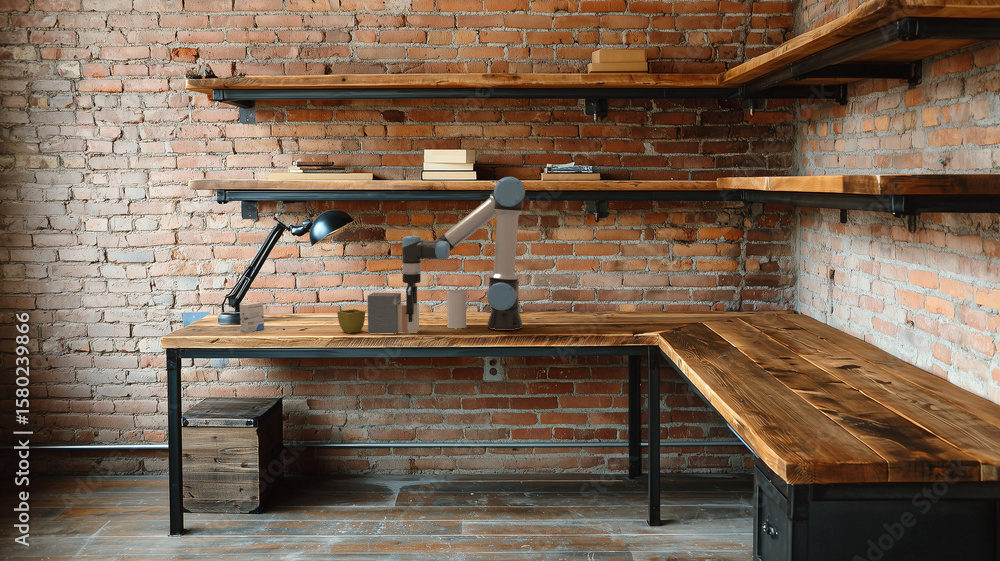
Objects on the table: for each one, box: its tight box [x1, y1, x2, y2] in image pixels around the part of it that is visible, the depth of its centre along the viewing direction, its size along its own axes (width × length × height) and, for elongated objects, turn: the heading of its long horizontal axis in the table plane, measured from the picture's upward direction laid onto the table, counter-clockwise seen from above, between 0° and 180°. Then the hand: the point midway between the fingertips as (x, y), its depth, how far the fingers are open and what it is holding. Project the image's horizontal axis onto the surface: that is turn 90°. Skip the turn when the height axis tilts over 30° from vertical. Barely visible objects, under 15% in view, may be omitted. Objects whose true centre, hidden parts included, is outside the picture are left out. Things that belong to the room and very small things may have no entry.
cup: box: [446, 289, 467, 330], centre depth 319 cm, size 8×8×16 cm
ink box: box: [239, 301, 265, 333], centre depth 312 cm, size 9×5×12 cm, turn 141°
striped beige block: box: [397, 302, 420, 334], centre depth 309 cm, size 12×5×12 cm, turn 87°
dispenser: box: [367, 292, 402, 335], centre depth 309 cm, size 12×10×16 cm
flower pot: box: [336, 308, 366, 334], centre depth 309 cm, size 9×9×9 cm
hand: (412, 328), depth 309 cm, fingers closed on striped beige block, 5 cm apart
